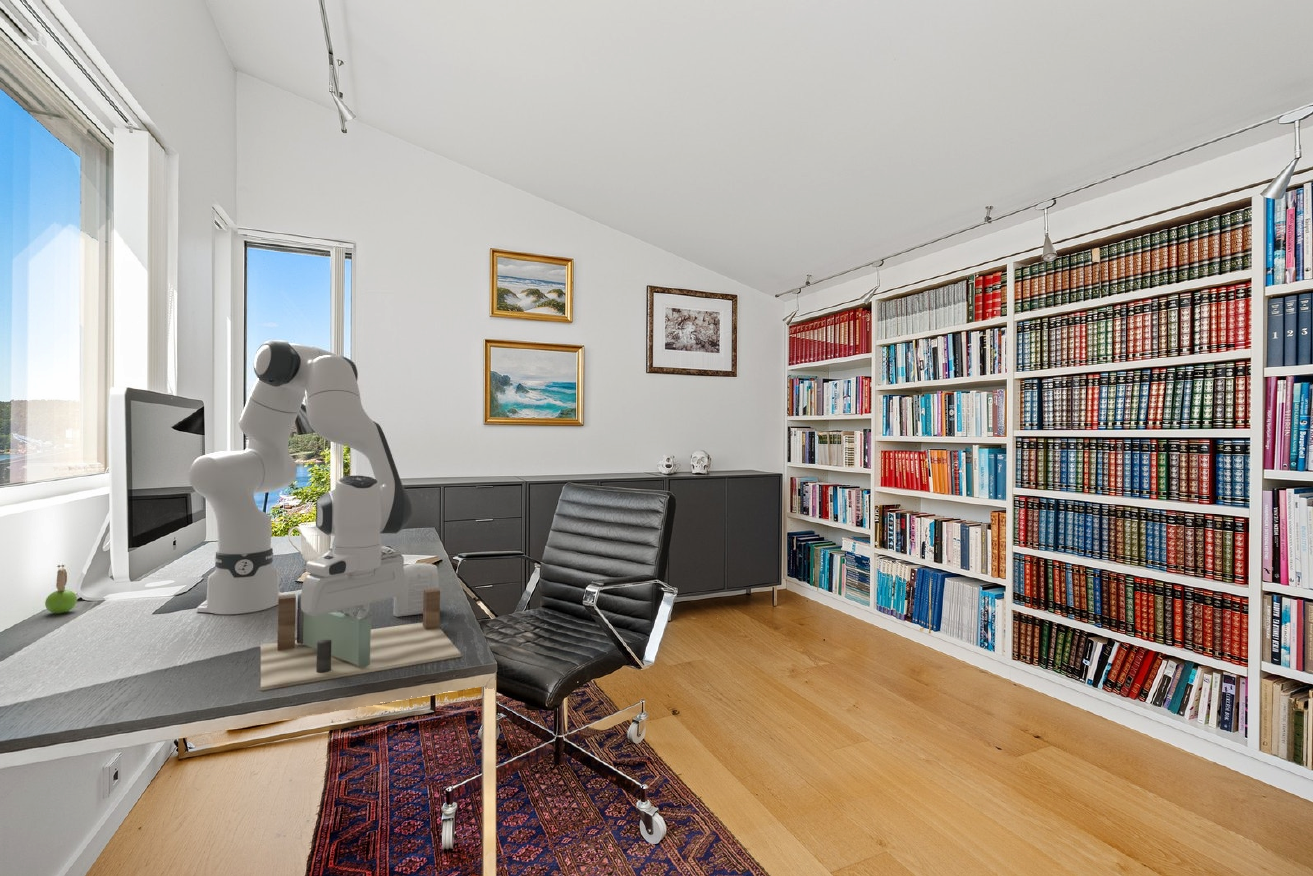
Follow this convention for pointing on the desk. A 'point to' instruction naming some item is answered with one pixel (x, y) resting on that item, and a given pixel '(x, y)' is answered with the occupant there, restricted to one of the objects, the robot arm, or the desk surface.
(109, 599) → the desk surface
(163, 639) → the desk surface
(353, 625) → the gate
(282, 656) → the gate frame
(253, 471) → the robot arm
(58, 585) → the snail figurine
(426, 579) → the photo printer
